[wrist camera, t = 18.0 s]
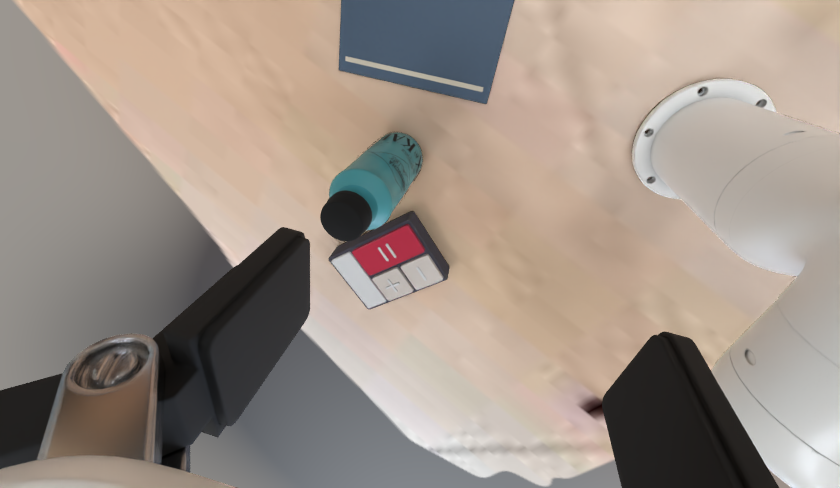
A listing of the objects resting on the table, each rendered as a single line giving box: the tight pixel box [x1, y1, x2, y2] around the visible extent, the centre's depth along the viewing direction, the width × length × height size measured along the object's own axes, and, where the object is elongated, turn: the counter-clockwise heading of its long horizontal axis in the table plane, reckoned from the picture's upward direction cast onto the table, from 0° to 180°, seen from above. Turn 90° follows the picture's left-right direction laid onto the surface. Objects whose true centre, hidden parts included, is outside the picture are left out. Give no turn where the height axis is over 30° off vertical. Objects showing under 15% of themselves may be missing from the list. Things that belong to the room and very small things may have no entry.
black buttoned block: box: [329, 211, 449, 309], centre depth 53 cm, size 11×4×15 cm
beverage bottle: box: [321, 132, 423, 241], centre depth 37 cm, size 6×7×20 cm
